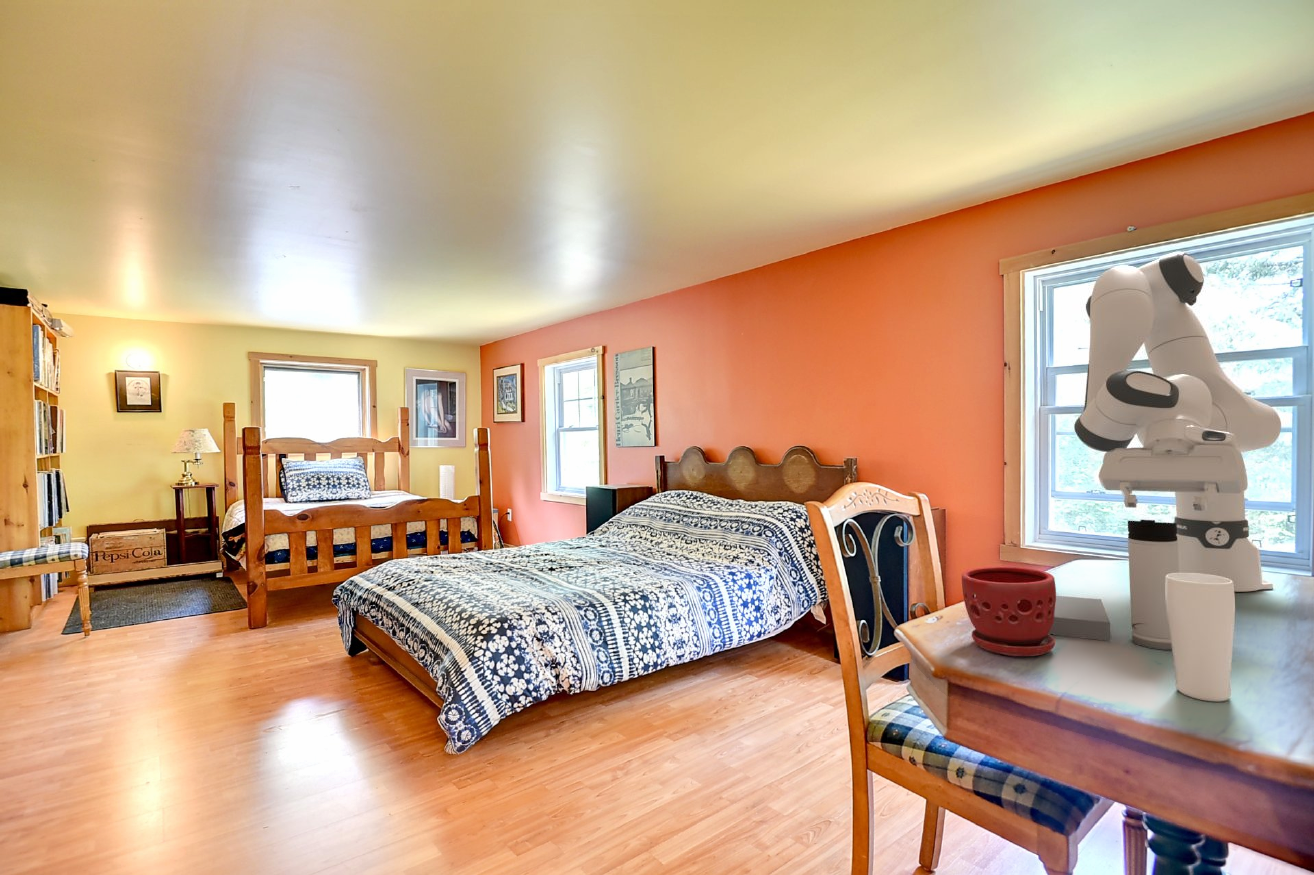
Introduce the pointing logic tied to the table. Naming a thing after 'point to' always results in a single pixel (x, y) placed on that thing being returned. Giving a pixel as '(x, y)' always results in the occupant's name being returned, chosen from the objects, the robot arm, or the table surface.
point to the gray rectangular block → (1080, 618)
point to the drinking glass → (1201, 633)
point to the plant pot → (1010, 609)
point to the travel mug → (1151, 580)
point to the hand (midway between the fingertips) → (1163, 506)
